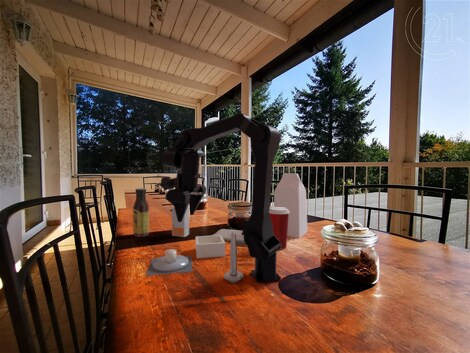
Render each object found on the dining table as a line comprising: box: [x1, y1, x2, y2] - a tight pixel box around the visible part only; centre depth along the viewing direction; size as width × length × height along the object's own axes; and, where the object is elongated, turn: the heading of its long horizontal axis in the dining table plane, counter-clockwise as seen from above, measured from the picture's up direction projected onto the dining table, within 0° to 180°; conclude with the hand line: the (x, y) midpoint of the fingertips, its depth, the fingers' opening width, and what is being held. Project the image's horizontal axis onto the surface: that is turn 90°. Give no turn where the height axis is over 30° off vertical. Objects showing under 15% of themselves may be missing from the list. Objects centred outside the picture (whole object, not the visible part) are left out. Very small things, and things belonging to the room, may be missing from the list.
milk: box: [273, 172, 308, 239], centre depth 108 cm, size 12×12×26 cm
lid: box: [153, 248, 188, 272], centre depth 71 cm, size 10×10×4 cm
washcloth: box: [211, 228, 247, 247], centre depth 98 cm, size 12×18×3 cm, turn 71°
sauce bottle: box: [132, 187, 150, 238], centre depth 103 cm, size 6×6×20 cm
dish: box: [195, 235, 226, 259], centre depth 81 cm, size 9×9×5 cm
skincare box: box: [171, 206, 190, 238], centre depth 104 cm, size 6×4×12 cm
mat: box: [145, 255, 193, 277], centre depth 71 cm, size 12×12×1 cm
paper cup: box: [269, 206, 290, 250], centre depth 89 cm, size 8×8×14 cm
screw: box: [223, 232, 244, 284], centre depth 61 cm, size 13×5×5 cm
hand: (185, 218), depth 80 cm, fingers open, 9 cm apart
